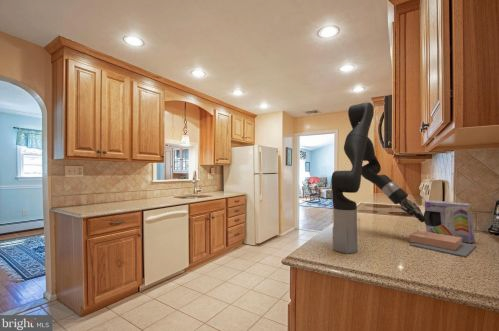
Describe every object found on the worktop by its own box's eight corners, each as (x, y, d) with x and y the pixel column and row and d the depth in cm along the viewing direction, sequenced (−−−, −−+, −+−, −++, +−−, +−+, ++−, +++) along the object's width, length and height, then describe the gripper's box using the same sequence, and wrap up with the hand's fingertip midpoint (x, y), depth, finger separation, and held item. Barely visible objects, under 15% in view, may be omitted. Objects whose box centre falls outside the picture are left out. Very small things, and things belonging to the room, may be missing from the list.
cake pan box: (423, 233, 123) (422, 200, 123) (429, 232, 125) (428, 199, 125) (469, 244, 105) (468, 204, 105) (475, 242, 107) (474, 203, 107)
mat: (465, 257, 89) (465, 255, 89) (409, 245, 103) (409, 244, 103) (476, 246, 101) (476, 245, 101) (424, 237, 116) (424, 236, 116)
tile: (409, 241, 107) (455, 251, 94) (409, 234, 107) (455, 242, 94) (418, 237, 114) (462, 245, 101) (418, 230, 114) (462, 237, 102)
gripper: (394, 188, 111) (426, 218, 101) (405, 187, 119) (435, 214, 109) (383, 198, 115) (412, 228, 105) (394, 196, 123) (422, 223, 113)
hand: (424, 221), depth 107 cm, fingers closed
